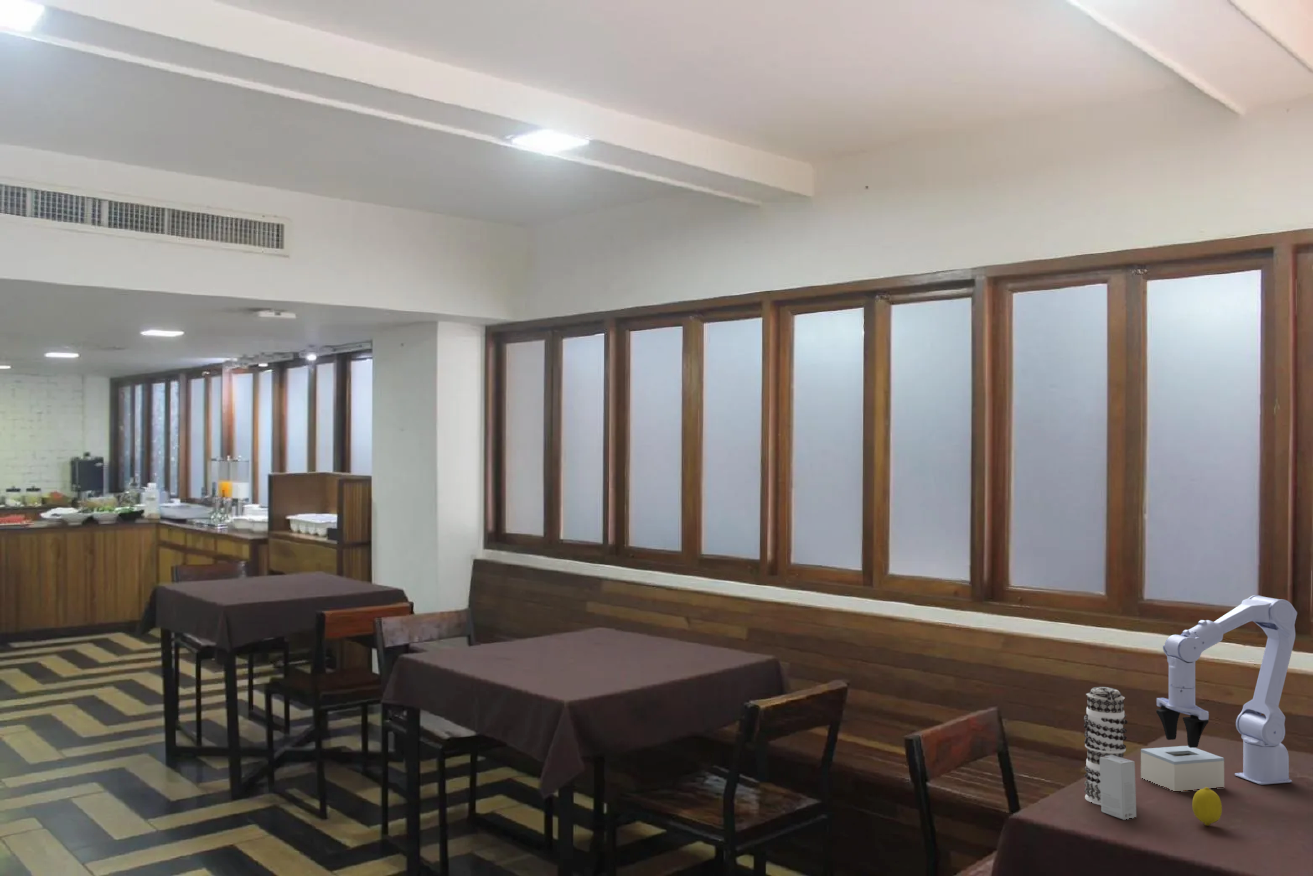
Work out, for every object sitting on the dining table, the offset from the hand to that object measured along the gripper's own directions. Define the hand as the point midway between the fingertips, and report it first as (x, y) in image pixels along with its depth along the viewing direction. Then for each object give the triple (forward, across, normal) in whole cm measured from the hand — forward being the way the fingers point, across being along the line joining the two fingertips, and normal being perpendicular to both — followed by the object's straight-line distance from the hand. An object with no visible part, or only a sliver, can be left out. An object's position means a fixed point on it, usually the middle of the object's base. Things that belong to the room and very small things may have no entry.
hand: (1181, 743), depth 248 cm
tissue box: (+9, 0, 0) cm, 9 cm away
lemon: (+10, +26, -17) cm, 33 cm away
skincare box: (+10, +16, -31) cm, 36 cm away
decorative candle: (+10, +7, -27) cm, 29 cm away
